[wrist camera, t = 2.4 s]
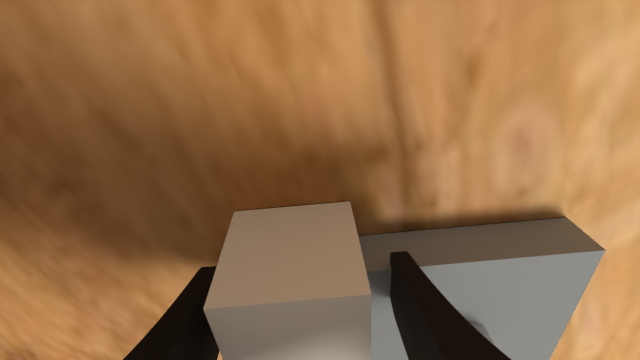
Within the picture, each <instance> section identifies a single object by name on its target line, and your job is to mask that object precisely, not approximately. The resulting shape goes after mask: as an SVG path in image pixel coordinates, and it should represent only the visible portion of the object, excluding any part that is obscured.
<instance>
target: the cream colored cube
mask: <svg viewBox="0 0 640 360" xmlns="http://www.w3.org/2000/svg"><path fill="white" fill-rule="evenodd" d="M371 296H372V294H371V290H370V285H369V281H368V277H367V272H366V268H365V264H364V259H363V255H362V251H361V246H360V242H359V238H358V233H357V229H356V225H355V220H354V216H353V212H352V207H351V203H350V201H349V202H337V203H326V204H314V205H303V206H292V207H280V208H269V209H257V210H246V211H235V212H234V213H233V217H232V220H231V223H230V226H229V229H228V232H227V236H226V239H225V242H224V245H223V248H222V251H221V255H220V258H219V261H218V264H217V267H216V270H215V273H214V277H213V280H212V283H211V286H210V289H209V292H208V296H207V299H206V302H205V305H204V308H203V310H204V312H205V315H206V318H207V320H208V323H209V325H210V328H211V330H212V333H213V335H214V338H215V340H216V343H217V345H218V348H219V350H220V353H221V355H222V358H223V360H371Z"/></svg>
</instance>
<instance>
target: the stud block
mask: <svg viewBox="0 0 640 360" xmlns="http://www.w3.org/2000/svg"><path fill="white" fill-rule="evenodd" d="M358 238H359V242H360V246H361V251H362V255H363V259H364V264H365V268H366V272H367V277H368V281H369V285H370V290H371V294H372V296H371V360H408V357H407V354H406V351H405V348H404V345H403V342H402V339H401V336H400V333H399V329H398V326H397V323H396V320H395V317H394V313H393V309H392V304H391V300H390V288H391V271H392V269H391V266H390V252H400V251H407V252H408V253H409V254H410V255H411V256H412V258H413V259H414V260H415V262H416V263H417V264H418V266H419V267H420V268H421V269H422V271H423V272H424V273H425V274H426V276H427V277H428V278H429V279H430V281H431V282H432V283H433V284H434V285H435V286H436V288H437V289H438V290H439V291H440V292H441V293H442V294H443V295H444V297H445V298H446V299H447V300H448V301H449V302H450V303H451V304H452V305H453V306H454V307H455V308H456V309H457V310H458V311H459V313H460V314H461V315H462V316H463V317H464V318H465V319H466V320H467V321H468V322H469V323H470V324H472V325H473V326H474V327H475V328H476V329H477V330H478V331H479V332H480V333H481V334H482V335H483V336H484V337H486V338H487V339H488V340H489V341H490V342H491V343H492V344H493V345H495V346H496V347H497V348H498V349H499V350H500V351H502V352H503V353H504V354H505V355H506V356H508V357H509V358H510V359H511V360H549V359H550V357H551V355H552V353H553V351H554V349H555V347H556V346H557V344H558V342H559V340H560V338H561V336H562V334H563V332H564V330H565V328H566V326H567V324H568V322H569V320H570V318H571V316H572V314H573V312H574V311H575V309H576V307H577V305H578V303H579V301H580V299H581V297H582V295H583V293H584V291H585V289H586V287H587V285H588V283H589V281H590V279H591V278H592V276H593V274H594V272H595V270H596V268H597V266H598V264H599V262H600V260H601V258H602V256H603V254H604V252H605V249H604V248H602V247H601V246H600V245H599V244H598V243H596V242H595V241H594V240H593V239H592V238H590V237H589V236H588V235H587V234H586V233H585V232H583V231H582V230H581V229H580V228H579V227H577V226H576V225H575V224H574V223H573V222H571V221H570V220H569V219H568V218H567V217H566V218H555V219H544V220H532V221H521V222H510V223H498V224H487V225H476V226H464V227H453V228H442V229H430V230H419V231H408V232H396V233H385V234H374V235H362V236H358Z"/></svg>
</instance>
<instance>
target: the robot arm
mask: <svg viewBox="0 0 640 360" xmlns="http://www.w3.org/2000/svg"><path fill="white" fill-rule="evenodd" d="M390 266H391V269H392V271H391V288H390V300H391V304H392V309H393V313H394V317H395V320H396V323H397V326H398V329H399V333H400V336H401V339H402V342H403V345H404V348H405V351H406V354H407V357H408V360H511V359H510V358H509V357H508V356H506V355H505V354H504V353H503V352H502V351H500V350H499V349H498V348H497V347H496V346H495V345H493V344H492V343H491V342H490V341H489V340H488V339H487V338H486V337H484V336H483V335H482V334H481V333H480V332H479V331H478V330H477V329H476V328H475V327H474V326H473V325H472V324H470V323H469V322H468V321H467V320H466V319H465V318H464V317H463V316H462V315H461V314H460V313H459V311H458V310H457V309H456V308H455V307H454V306H453V305H452V304H451V303H450V302H449V301H448V300H447V299H446V298H445V297H444V295H443V294H442V293H441V292H440V291H439V290H438V289H437V288H436V286H435V285H434V284H433V283H432V282H431V281H430V279H429V278H428V277H427V276H426V274H425V273H424V272H423V271H422V269H421V268H420V267H419V266H418V264H417V263H416V262H415V260H414V259H413V258H412V256H411V255H410V254H409V253H408V252H407V251H400V252H390ZM216 267H217V266H212V267H201V268H200V269H199V271H198V272H197V273H196V274H195V276H194V277H193V278H192V280H191V281H190V282H189V283H188V285H187V286H186V287H185V289H184V290H183V291H182V292H181V294H180V295H179V296H178V298H177V299H176V300H175V301H174V303H173V304H172V305H171V306H170V307H169V309H168V310H167V311H166V312H165V314H164V315H163V316H162V317H161V318H160V320H159V321H158V322H157V323H156V324H155V325H154V327H153V328H152V329H151V330H150V331H149V332H148V333H147V334H146V336H145V337H144V338H143V339H142V340H141V341H140V342H139V343H138V344H137V346H136V347H135V348H134V349H133V350H132V351H131V352H130V353H129V354H128V355H127V356H126V357H125V358H124V359H123V360H217V357H218V354H219V348H218V345H217V343H216V340H215V338H214V335H213V333H212V330H211V328H210V325H209V323H208V320H207V318H206V315H205V312H204V310H203V308H204V305H205V302H206V299H207V296H208V292H209V289H210V286H211V283H212V280H213V277H214V273H215V270H216Z"/></svg>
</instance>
